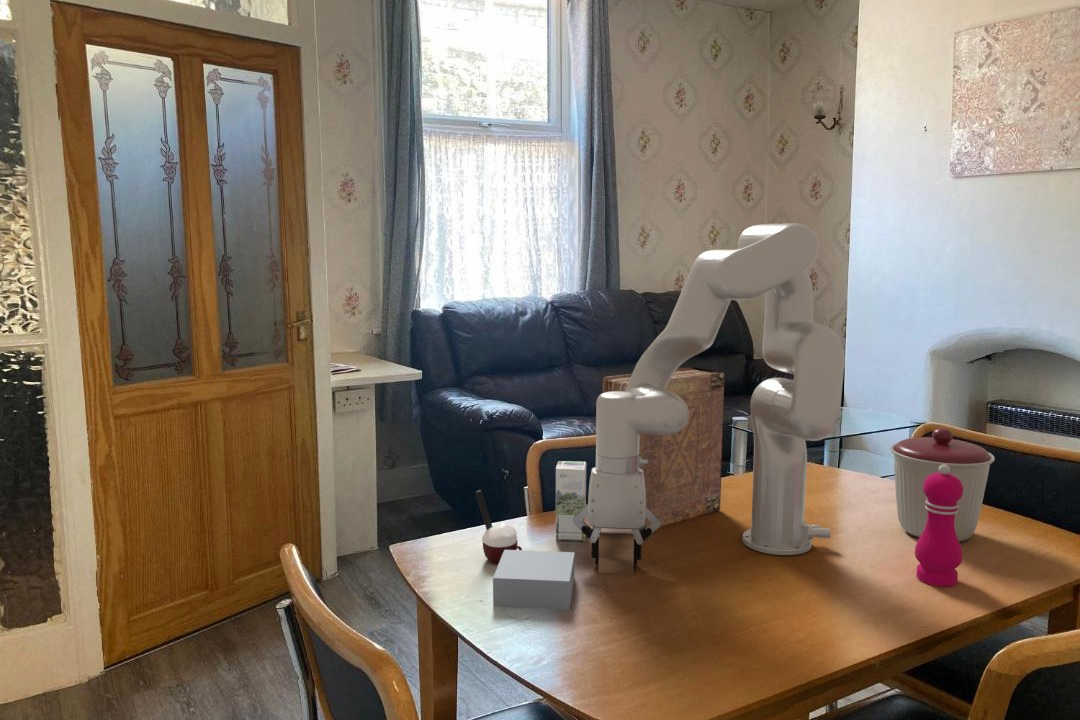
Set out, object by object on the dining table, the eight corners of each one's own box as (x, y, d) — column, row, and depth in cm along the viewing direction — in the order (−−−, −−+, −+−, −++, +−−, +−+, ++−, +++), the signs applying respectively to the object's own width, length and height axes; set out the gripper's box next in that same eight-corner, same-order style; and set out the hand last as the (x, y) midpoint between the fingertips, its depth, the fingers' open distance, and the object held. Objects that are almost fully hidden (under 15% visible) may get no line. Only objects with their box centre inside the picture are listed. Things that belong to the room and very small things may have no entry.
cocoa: (527, 565, 145) (530, 501, 143) (497, 572, 141) (500, 506, 139) (498, 547, 153) (501, 486, 151) (469, 553, 149) (472, 490, 147)
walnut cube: (633, 560, 146) (633, 528, 145) (633, 574, 140) (633, 540, 139) (599, 559, 147) (600, 527, 146) (598, 572, 141) (598, 539, 140)
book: (629, 534, 159) (631, 383, 155) (600, 521, 167) (601, 377, 163) (720, 510, 173) (724, 371, 169) (689, 499, 181) (693, 366, 177)
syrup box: (586, 531, 161) (586, 460, 159) (585, 542, 155) (585, 468, 153) (557, 530, 161) (557, 459, 159) (555, 541, 156) (555, 467, 154)
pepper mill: (941, 591, 133) (950, 472, 130) (903, 575, 139) (911, 462, 136) (970, 583, 136) (978, 467, 133) (931, 568, 143) (939, 456, 140)
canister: (886, 542, 155) (892, 434, 152) (884, 513, 171) (890, 415, 168) (994, 556, 148) (1003, 443, 145) (981, 524, 164) (989, 422, 161)
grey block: (574, 580, 138) (574, 552, 138) (569, 611, 127) (569, 581, 126) (504, 577, 140) (504, 549, 139) (493, 608, 128) (492, 577, 127)
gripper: (666, 459, 144) (664, 556, 146) (569, 456, 145) (568, 552, 148) (668, 470, 136) (666, 573, 139) (566, 467, 138) (565, 569, 141)
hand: (616, 561), depth 143 cm, fingers closed on walnut cube, 6 cm apart
